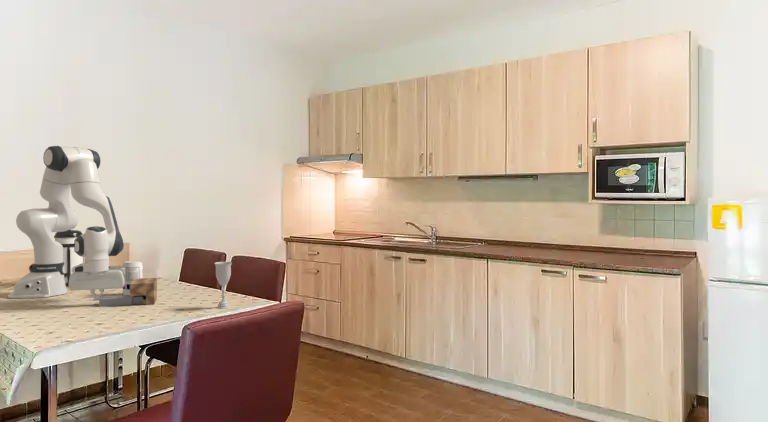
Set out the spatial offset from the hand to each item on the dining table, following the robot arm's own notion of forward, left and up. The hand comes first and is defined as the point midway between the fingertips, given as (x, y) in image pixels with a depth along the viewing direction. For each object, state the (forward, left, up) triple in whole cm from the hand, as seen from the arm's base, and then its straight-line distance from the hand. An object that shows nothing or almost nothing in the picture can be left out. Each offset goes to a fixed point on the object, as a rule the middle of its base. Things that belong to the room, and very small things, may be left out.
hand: (97, 300), depth 216 cm
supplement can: (+11, +21, -2) cm, 23 cm away
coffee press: (-23, +59, -2) cm, 63 cm away
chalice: (+49, -19, -2) cm, 53 cm away
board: (+9, 0, -2) cm, 9 cm away
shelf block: (+18, +2, -2) cm, 18 cm away
